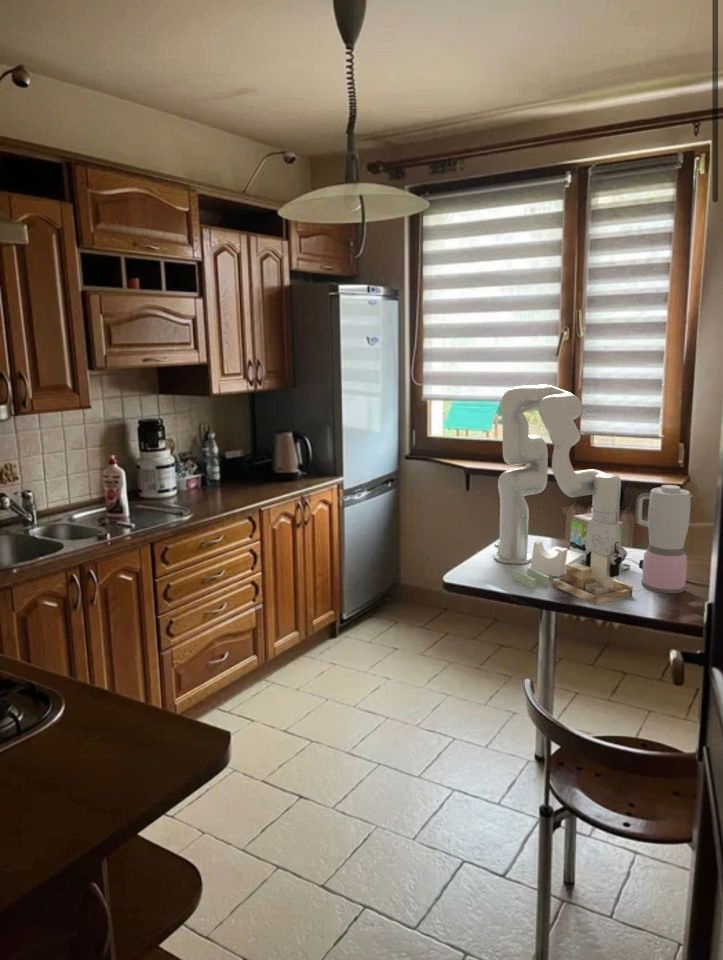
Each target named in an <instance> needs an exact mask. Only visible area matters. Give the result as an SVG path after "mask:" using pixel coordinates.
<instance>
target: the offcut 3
mask: <svg viewBox="0 0 723 960" xmlns="http://www.w3.org/2000/svg"><path fill="white" fill-rule="evenodd" d="M585 591H586V592H588V593H590V594H592V595H595V596H600V595H604V594H608V588H607V587H605V586H603V585H601V584H599V583H591V584H586V586H585Z"/></svg>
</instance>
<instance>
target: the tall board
mask: <svg viewBox="0 0 723 960" xmlns="http://www.w3.org/2000/svg"><path fill="white" fill-rule="evenodd" d="M613 553H614V552H613ZM613 557H614V559H615V556H613ZM610 564H612V562H611V560H610V558H609V557H604V556H601V555H599V554H596V553H593V552H591V566H590V567H591V568H592V575H591V578H593V579H595V581H596V582H598V583H601V584H603V585H606V586H608V587H610V588H613V579H615V577H610V576H609V574H610Z"/></svg>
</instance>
